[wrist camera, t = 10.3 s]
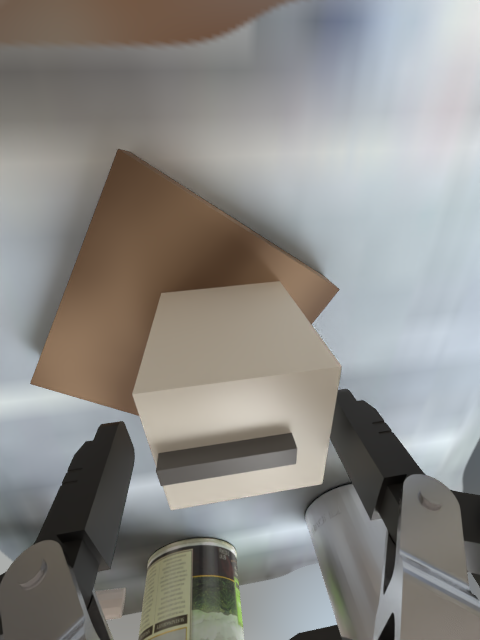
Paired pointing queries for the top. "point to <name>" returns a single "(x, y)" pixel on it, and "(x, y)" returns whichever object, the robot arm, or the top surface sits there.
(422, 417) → the top surface
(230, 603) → the coffee can
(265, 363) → the cream rectangular block
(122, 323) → the board
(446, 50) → the top surface
